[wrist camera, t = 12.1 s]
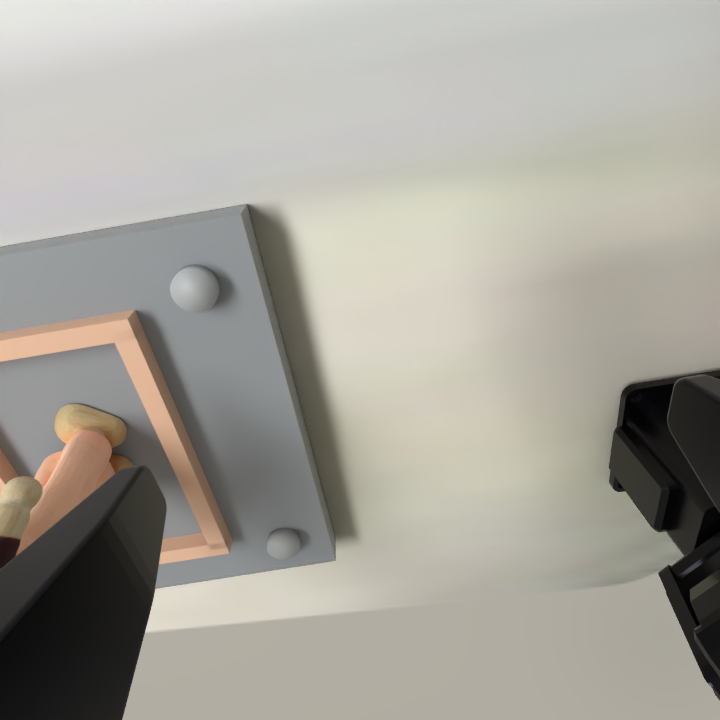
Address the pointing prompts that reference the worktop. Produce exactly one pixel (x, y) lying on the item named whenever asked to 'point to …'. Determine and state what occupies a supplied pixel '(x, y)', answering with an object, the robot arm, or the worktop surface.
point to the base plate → (168, 384)
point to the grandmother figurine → (61, 477)
